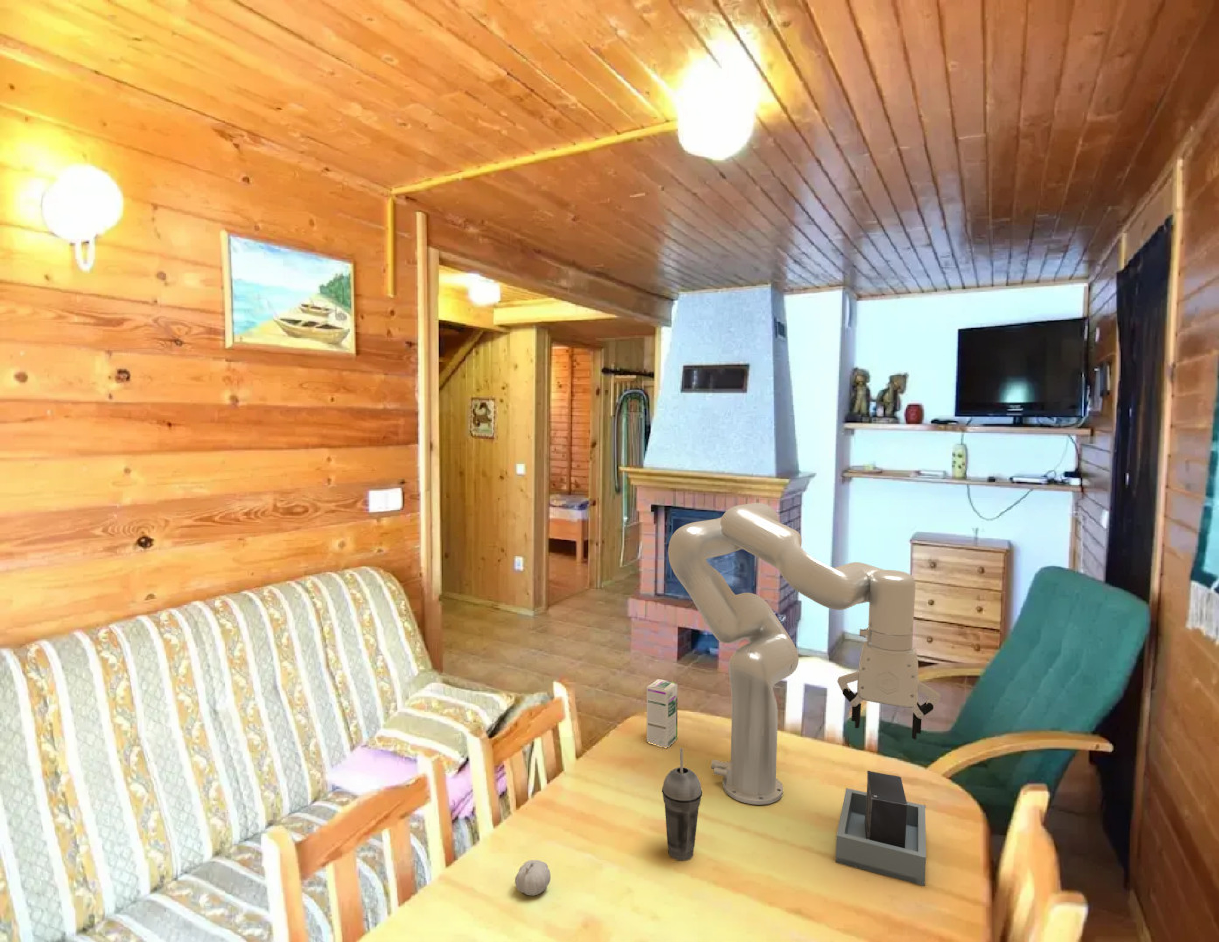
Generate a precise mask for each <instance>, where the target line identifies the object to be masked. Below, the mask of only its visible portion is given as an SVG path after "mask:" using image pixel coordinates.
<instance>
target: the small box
mask: <svg viewBox="0 0 1219 942" xmlns="http://www.w3.org/2000/svg"><path fill="white" fill-rule="evenodd" d="M866 774H867V776H866V778H867V779H866V780H867V783H866V793H867V797H866V812H865V832H866V839H868V840H872V841H876V842H880V843H885V844H889V845H893V846H897V847H901V848H905V840H906V822H907V802H908V801H907V797H906V793H905V789H904V785H903V779H902V777H901V776H899V775H893V774H886V773H881V772H876V771H872V770H871V771H870V770H867V771H866Z"/></svg>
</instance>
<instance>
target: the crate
mask: <svg viewBox="0 0 1219 942" xmlns="http://www.w3.org/2000/svg"><path fill="white" fill-rule="evenodd" d="M866 797H867V791H866V792H865V791H861V790H857V789H853V788H848V787H847V788H845V793H844V798H843V802H842V806H841V807H842V808H841V812H840V818H839V821H838V822H839V823H838V827H837V832H836V841H835V863H836V864H840V865H844V866H848V867H851V868H855V869H858V870H862V871H867V872H871V873H873V874H878V875H882V876H886V877H890V878H892V879H893V878H894V879H896V880H900V881H903V882H907V883H908V882H909V883H911V884H915V885H919V886H923V887H925V885H926V870H927V869H926V867H927V866H926V865H927V844H926V843H927V839H926V838H927V835H926V833H927V831H926V805H924V804H920V803H916V802H911V801H907V822H906V840H905V848H901V847H897V846H893V845H889V844H885V843H880V842H876V841H872V840H868V839H866V832H865V812H866Z"/></svg>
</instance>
